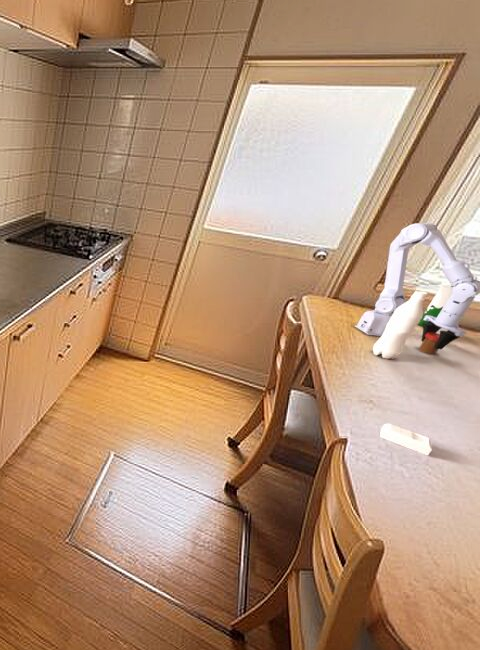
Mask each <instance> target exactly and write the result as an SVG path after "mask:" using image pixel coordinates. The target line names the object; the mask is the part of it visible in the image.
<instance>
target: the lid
mask: <svg viewBox="0 0 480 650" xmlns="http://www.w3.org/2000/svg"><path fill="white" fill-rule="evenodd" d="M439 336H440V334H438V333H433V332H427V333H426V335H425V337H426V338H428V339H430V340H433V341H436V342H437V341H438V339H439Z"/></svg>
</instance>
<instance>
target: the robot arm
mask: <svg viewBox="0 0 480 650" xmlns="http://www.w3.org/2000/svg"><path fill="white" fill-rule="evenodd" d="M417 244H421V245H424V246H428V247H430V248H431V249H432V251H433V252H434V253H435V255H436V256H437V257H438V258H439V260H440V261H441V263H442V264H443V266H442V268H441V271H442V273H443V274H444V276H445V277H446V279H447V281H448V282H449V283H450V285H451V286H454V287H453V288H452V293H453V294H452V295H451V297H450V298H449V299H448V301H447V302H446V304H445V305H444V307H443V308H442V310H441V312H440V313H439V315H438V316H437V318H436V317H433V316H429V315H426V316H425V318H424V319H423V320H425V321H428V322H427V323H425V322H424V323H423V324H422V325H423V326H422V336H421V342H423V341H424V339H425V338H426V337H425V335H426V333H427V332H433V333H436V332H437V331H438V330H439V329H441V328H443V329H445V330H447V331H440V336H439V339H438V341H437V343H436V345H435V347H434V348H435V349H439V350H442V349H444V348H445V347H446V346H448V345H449V344H450V343H452V342H453V341H455V340H457V339H460V338H461V337H463V338H464V337H465V336H466V334H467V331H465V330H464V329H462V328H461V327H459V326H460V325H459V323H460V322H461V320H462V319H463V317H464V316H465V314H466V313H467V311H468V309H470V307H471V305H472V303H473V301H474V300H475V298H476V296H478V295H480V280H478V277H477V276H474V275H473V272H472V271H471V270H470V268H471V264H469V263H465V261H463V260H459V259H457V258H456V256H455V254H454V253H453V251H452V249H451V247H450V245H449V243H448V242H447V240H446V238H445V237H444V235H443V233H442V231H441V230H440V229H438V226H437V225H436V224H435V223H432V222H423V223H418V222H417V223H412V224H409V225H408V226H406V227H404V228H402V229H401V230H400V233H399V234H398V235H397V236H396V237H395V238H394V239H393V241H391V243H390V246H389V252H388V259H387V265H386V274H385V279H384V288H383V290H382V291H381V293H380V294H379V298H378V299H377V301H376V302H375V303H374V304H375V305H374V307H375V308H374V309H373V310H367V311H365V312H364V313H363V314H362V315H361V317H360V319H359V320H358V323H357V324H356V325H354V327H355V328H356V329H357V330H360V332H362V333H364V334H366V335H369V336H377V337H381V336H382V334H383V333H384V331H385V328H386V326H387V323H388V322H389V320H390V318H391V317H392V315H393V313H394V311H395V310H396V309H397V308H398V307H399V306H401V305H402V304H404V303H406V302H407V300H406V298H405V296H406V295H405V294H406V293H405V290H404V283H405V278H406V277H405V276H406V270H407V263H408V256H409V251H410V250H409V249H411V248H413V247H414V246H415V245H417Z"/></svg>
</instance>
